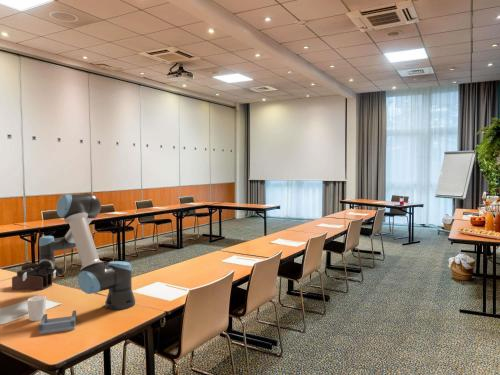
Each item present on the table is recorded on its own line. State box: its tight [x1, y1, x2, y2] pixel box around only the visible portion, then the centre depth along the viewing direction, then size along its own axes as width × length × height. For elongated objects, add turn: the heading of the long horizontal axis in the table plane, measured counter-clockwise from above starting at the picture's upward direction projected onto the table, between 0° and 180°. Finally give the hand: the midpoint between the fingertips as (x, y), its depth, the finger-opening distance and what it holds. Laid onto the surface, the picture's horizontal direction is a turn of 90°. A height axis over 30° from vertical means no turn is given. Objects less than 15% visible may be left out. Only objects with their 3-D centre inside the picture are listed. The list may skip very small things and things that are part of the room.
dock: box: [38, 310, 77, 335], centre depth 175 cm, size 14×14×4 cm
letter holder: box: [11, 263, 53, 291], centre depth 236 cm, size 10×20×14 cm, turn 85°
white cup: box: [27, 295, 47, 322], centre depth 185 cm, size 8×8×10 cm
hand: (38, 276), depth 193 cm, fingers open, 13 cm apart
